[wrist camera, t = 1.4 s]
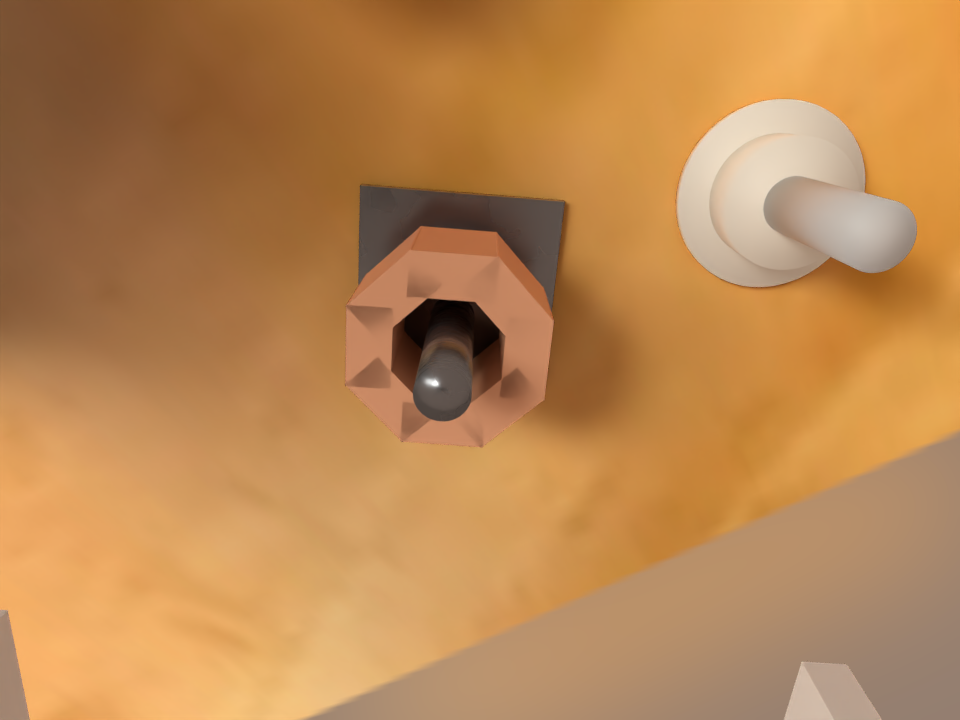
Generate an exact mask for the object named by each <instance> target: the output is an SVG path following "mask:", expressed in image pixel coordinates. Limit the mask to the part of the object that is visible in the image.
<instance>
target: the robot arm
mask: <svg viewBox="0 0 960 720" xmlns="http://www.w3.org/2000/svg"><path fill="white" fill-rule="evenodd" d="M0 720H30V718H29V714H28V709H27V704H26V699H25V694H24V689H23V684H22V679H21V674H20V669H19V664H18V659H17V654H16V649H15V645H14V640H13V635H12V630H11V625H10V620H9V615H8V610H0ZM784 720H882V719H881V717H880V716H879V714H878V713H877V711H876V709H875V708H874V706H873V705H872V703H871V702H870V700H869V698H868V697H867V696H866V694H865V692H864V691H863V689H862V687H861V686H860V684H859V683H858V681H857V679H856V678H855V676H854V675H853V673H852V672H851V670H850V668H849V667H848V665H847V664H834V663H818V662H801V666H800V669H799V672H798V676H797V679H796V682H795V685H794V688H793V692H792V695H791V698H790V702H789V705H788V708H787V711H786V715H785V718H784Z"/></svg>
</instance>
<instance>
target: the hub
mask: <svg viewBox="0 0 960 720" xmlns="http://www.w3.org/2000/svg"><path fill="white" fill-rule="evenodd" d="M676 216H677V223H678V227H679V230H680V233H681V236H682V238H683V241H684V243H685V245H686V247H687V248H688V250H689V251H690V253H691V254H692V255H693V257H694V258H695V259H696V260H697V261H698V262H699V263H700V264H701V265H702V266H703V267H705V268H706V269H707V270H708V271H709V272H711V273H712V274H714V275H716V276H717V277H719V278H721V279H723V280H725V281H728V282H730V283H734V284H737V285H742V286H748V287H768V286H776V285H780V284H784V283H787V282H790V281H793V280H796V279H798V278H800V277H802V276H804V275H806V274H808V273H810V272H811V271H813V270H814V269H816V268H818V267H819V266H820V265H822V264H823V263H824V262H825V261H826V260H828V259H829V258H830V257H832V258H834V259H836V260H838V261H840V262H842V263H844V264H846V265H849V266H851V267H853V268H855V269H857V270H859V271H862V272H866V273H878V272H883V271H886V270H889V269H891V268H893V267H894V266H896V265H897V264H899V263H900V262H901V261H902V260H903V259H904V258H905V257H906V256H907V255H908V254H909V252H910V251H911V249H912V247H913V245H914V242H915V239H916V235H917V224H916V220H915V217H914V215H913V213H912V212H911V210H910V209H909V208H908V207H907V206H905V205H904V204H902V203H900V202H897V201H894V200H890V199H886V198H882V197H878V196H875V195H871V194H867V193H865V167H864V162H863V157H862V154H861V151H860V148H859V145H858V143H857V141H856V140H855V138H854V136H853V134H852V133H851V132H850V130H849V129H848V128H847V126H846V125H845V124H844V123H843V122H842V121H841V120H840V119H839V118H838V117H837V116H835V115H834V114H832V113H831V112H829V111H828V110H826V109H824V108H822V107H820V106H818V105H815V104H812V103H809V102H806V101H800V100H794V99H773V100H765V101H760V102H756V103H753V104H750V105H747V106H745V107H742V108H740V109H738V110H736V111H734V112H732V113H730V114H729V115H727V116H725V117H724V118H723V119H721V120H720V121H719V122H717V123H716V124H715V125H714V126H713V127H712V128H710V129H709V130H708V131H707V132H706V133H705V134H704V136H703V137H702V138H701V139H700V140H699V141H698V143H697V144H696V146H695V147H694V149H693V150H692V152H691V153H690V155H689V157H688V159H687V161H686V163H685V165H684V167H683V170H682V173H681V175H680V179H679V183H678V187H677V194H676Z"/></svg>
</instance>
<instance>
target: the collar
mask: <svg viewBox="0 0 960 720" xmlns="http://www.w3.org/2000/svg"><path fill="white" fill-rule="evenodd" d="M427 298H431V299H444V300H457V301H470V302H476V303H477V305H478V306H479V307H480V308H481V309H482V310H483V311H484V312H485V314H486V315H487V316H488V317H489V318H490V319H491V320H492V321H493V323H494V324H495V325H496V326H497V327H498V328H499V329H500V331H499V339H497V340H496V341H495V342H494V343H492V344H491V345H490V346H489V347H487V348H486V349H485V350H484V351H482V352H481V353H480V354H479V355H477V356H476V357H475V358H474V359H473V373H472V398H471V402H470V405H469V407H468V409H467V410H466V411H465V413H464V414H462V415H461V416H460V417H458V418H456V419H454V420H451V421H435V420H432V419H429V418H427V417H426V416H424V415H423V414H422V413H421V412H420V411H419V410H418V409H417V407H416V405H415V403H414V400H413V388H414V384H415V380H416V375H417V371H418V367H419V363H420V358H421V354H422V349H421V348H420V347H419V346H418V345H417V344H416V343H415V342H414V341H413V340H412V339H411V338H410V337H409V336H408V335H407V333H406V332H405V331H404V326H405V317H406V316H407V315H408V314H409V313H411V312H412V311H413V310H414V309H415V308H417V307H418V306H419V305H420V304H421V303H422V302H424V301H425V300H426V299H427ZM553 324H554V319H553V316H552V312H551V309H550V306H549V303H548V300H547V296H546V293H545V290H544V287H542V285H541V284H540V283H539V282H538V281H537V280H536V278H535V277H534V276H533V275H532V274H531V272H530V271H529V270H528V269H527V268H526V267H525V265H524V264H523V263H522V262H521V261H520V259H519V258H518V257H517V256H516V255H515V254H514V252H513V251H512V250H511V249H510V248H509V246H508V245H507V244H506V243H505V242H504V241H503V239H502V238H501V237H500V236H499V235H498V233H497V232H488V231H476V230H463V229H451V228H438V227H425V226H420V227H419V228H418V229H417V230H416V231H415V232H414V233H413V234H412V235H410V236H409V237H408V238H407V239H406V240H405V241H404V242H403V243H401V244H400V245H399V246H398V247H397V248H396V249H395V250H393V251H392V252H391V253H390V254H389V255H388V256H387V257H385V258H384V259H383V260H382V261H381V262H380V263H379V264H377V265H376V266H375V267H374V268H373V269H372V270H371V271H369V272H368V273H366V275H365V276H364V278H363V279H362V281H361V283H360V284H359V286H358V287H357V289H356V290H355V292H354V293H353V295H352V297H351V298H350V300H349V301H348V303H347V304H346V379H345V386H347V387H348V388H349V389H350V390H351V391H352V392H353V393H354V394H355V395H356V396H357V397H358V398H359V399H360V400H361V401H362V402H363V403H364V404H365V405H366V406H367V407H368V408H369V409H370V410H371V411H372V412H373V413H374V414H375V415H376V416H377V417H378V418H379V419H380V420H381V421H382V422H383V423H384V424H385V425H386V426H387V427H388V428H389V429H390V430H391V431H392V432H393V433H394V434H395V435H396V436H397V437H398V438H399V439H400V440H401V441H402V442H416V443H430V444H444V445H458V446H472V447H483V446H484V445H485V444H487V443H488V442H489V441H491V440H492V439H493V438H495V437H496V436H497V435H498V434H500V433H501V432H502V431H504V430H505V429H506V428H508V427H509V426H510V425H512V424H513V423H514V422H516V421H517V420H518V419H520V418H521V417H522V416H524V415H525V414H526V413H528V412H529V411H530V410H531V409H533V408H534V407H535V406H537V405H538V404H539V403H541V402H542V401H544V400H545V390H546V382H547V374H548V366H549V357H550V349H551V341H552V333H553Z"/></svg>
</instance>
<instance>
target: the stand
mask: <svg viewBox="0 0 960 720" xmlns="http://www.w3.org/2000/svg"><path fill="white" fill-rule="evenodd" d="M564 204H565V202H564V200H552V199H540V198H527V197H515V196H503V195H490V194H478V193H465V192H453V191H440V190H428V189H415V188H403V187H391V186H378V185H366V184H361V185H360V223H359V282H358V286H359V284H360V283H361V281H362V279H363V278H364V276H365V275H366V273H368V272H369V271H371V270H372V269H373V268H374V267H375V266H376V265H377V264H379V263H380V262H381V261H382V260H383V259H384V258H385V257H387V256H388V255H389V254H390V253H391V252H392V251H393V250H395V249H396V248H397V247H398V246H399V245H400V244H401V243H403V242H404V241H405V240H406V239H407V238H408V237H409V236H410V235H412V234H413V233H414V232H415V231H416V230H417V229H418V228H419V227H420V226H425V227H438V228H451V229H463V230H476V231H488V232H497V233H498V235H499V236H500V237H501V238H502V239H503V241H504V242H505V243H506V244H507V245H508V246H509V248H510V249H511V250H512V251H513V252H514V254H515V255H516V256H517V257H518V258H519V259H520V261H521V262H522V263H523V264H524V265H525V267H526V268H527V269H528V270H529V271H530V272H531V274H532V275H533V276H534V277H535V278H536V280H537V281H538V282H539V283H540V284H541V285H542V287H544V290H545V293H546V296H547V300H548V303H549V306H550V309H551V312H552V304H553V296H554V288H555V279H556V271H557V263H558V254H559V246H560V238H561V229H562V221H563V213H564ZM404 331H405V332H406V333H407V335H408V336H409V337H410V338H411V339H412V340H413V341H414V342H415V343H416V344H417V345H418V346H419V347H420V348H421V349H422V354H421V358H420V363H419V367H418V371H417V375H416V380H415V384H414V388H413V400H414V403H415V405H416V407H417V409H418V410H419V411H420V412H421V413H422V414H423V415H424V416H426V417H427V418H429V419H432V420H435V421H451V420H454V419H456V418H458V417H460V416H461V415H462V414H464V413H465V411H466V410H467V409H468V407H469V405H470V402H471V398H472V373H473V359H474V358H475V357H476V356H477V355H479V354H480V353H481V352H482V351H484V350H485V349H486V348H487V347H489V346H490V345H491V344H492V343H494V342H495V341H496V340H497V339H499V331H500V329H499V328H498V327H497V326H496V325H495V324H494V323H493V321H492V320H491V319H490V318H489V317H488V316H487V315H486V314H485V312H484V311H483V310H482V309H481V308H480V307H479V306H478V305H477V303H476V302H470V301H457V300H444V299H431V298H427V299H426V300H425V301H424V302H422V303H421V304H420V305H419V306H418V307H417V308H415V309H414V310H413V311H412V312H411V313H409V314H408V315H407V316H406V317H405V326H404Z"/></svg>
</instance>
